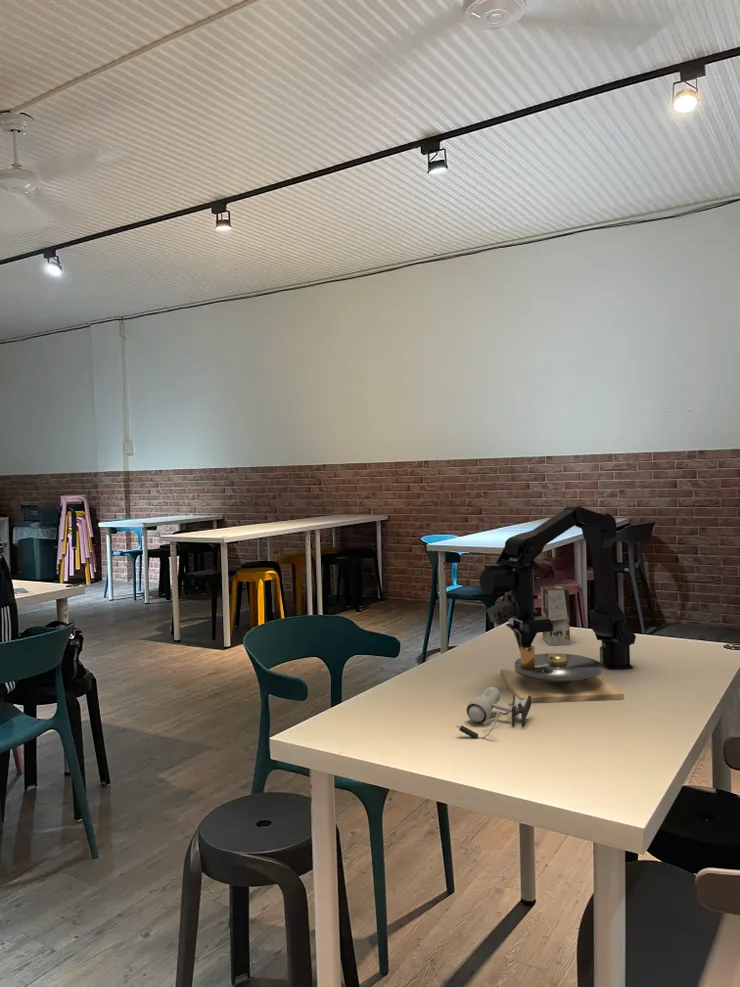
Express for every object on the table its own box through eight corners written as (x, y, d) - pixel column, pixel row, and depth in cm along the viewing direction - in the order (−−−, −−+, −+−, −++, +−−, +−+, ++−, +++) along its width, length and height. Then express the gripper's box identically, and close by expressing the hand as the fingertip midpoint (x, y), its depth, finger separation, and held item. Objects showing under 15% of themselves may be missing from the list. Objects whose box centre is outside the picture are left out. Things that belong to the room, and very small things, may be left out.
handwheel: (569, 654, 186) (568, 630, 185) (620, 674, 167) (619, 647, 167) (499, 664, 179) (498, 639, 179) (544, 686, 160) (543, 658, 160)
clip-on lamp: (502, 760, 139) (536, 712, 153) (501, 730, 137) (536, 685, 151) (446, 743, 145) (485, 698, 159) (445, 715, 143) (483, 672, 158)
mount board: (591, 670, 185) (590, 656, 185) (623, 699, 162) (623, 682, 162) (500, 674, 184) (500, 659, 184) (520, 703, 162) (519, 686, 161)
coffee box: (571, 645, 212) (569, 589, 211) (548, 645, 212) (547, 590, 211) (563, 637, 221) (561, 584, 220) (542, 638, 221) (540, 585, 220)
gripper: (474, 586, 181) (476, 649, 181) (509, 599, 163) (511, 668, 164) (515, 583, 184) (517, 644, 185) (553, 594, 166) (555, 662, 167)
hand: (523, 654), depth 175 cm, fingers closed
